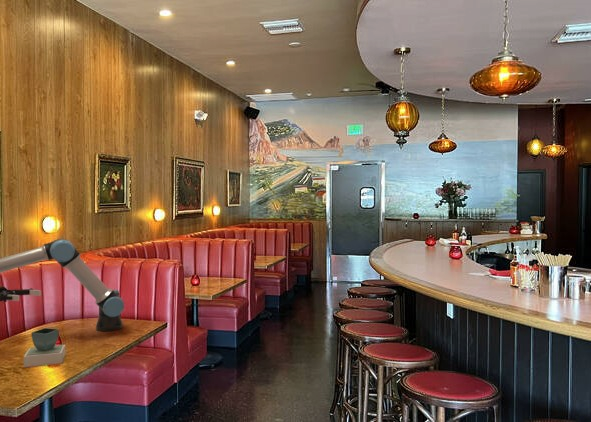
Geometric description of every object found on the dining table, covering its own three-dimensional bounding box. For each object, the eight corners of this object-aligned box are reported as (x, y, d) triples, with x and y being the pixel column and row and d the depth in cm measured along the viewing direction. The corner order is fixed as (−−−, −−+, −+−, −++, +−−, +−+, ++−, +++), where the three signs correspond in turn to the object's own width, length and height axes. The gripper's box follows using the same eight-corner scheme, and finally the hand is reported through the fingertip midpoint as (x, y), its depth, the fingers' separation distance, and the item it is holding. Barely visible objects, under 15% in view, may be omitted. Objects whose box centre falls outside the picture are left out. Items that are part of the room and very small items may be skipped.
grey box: (65, 354, 242) (65, 343, 242) (61, 363, 229) (61, 351, 229) (29, 358, 237) (29, 347, 237) (23, 367, 224) (23, 355, 224)
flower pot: (46, 352, 228) (45, 333, 228) (30, 351, 230) (30, 332, 230) (59, 347, 236) (59, 329, 236) (45, 345, 239) (44, 327, 238)
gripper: (16, 296, 259) (49, 298, 253) (-26, 306, 235) (8, 308, 229) (16, 282, 259) (48, 283, 253) (-27, 290, 235) (8, 292, 229)
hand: (29, 295), depth 241 cm, fingers open, 13 cm apart
